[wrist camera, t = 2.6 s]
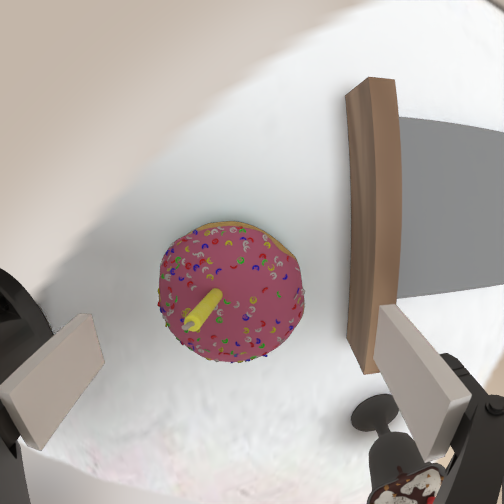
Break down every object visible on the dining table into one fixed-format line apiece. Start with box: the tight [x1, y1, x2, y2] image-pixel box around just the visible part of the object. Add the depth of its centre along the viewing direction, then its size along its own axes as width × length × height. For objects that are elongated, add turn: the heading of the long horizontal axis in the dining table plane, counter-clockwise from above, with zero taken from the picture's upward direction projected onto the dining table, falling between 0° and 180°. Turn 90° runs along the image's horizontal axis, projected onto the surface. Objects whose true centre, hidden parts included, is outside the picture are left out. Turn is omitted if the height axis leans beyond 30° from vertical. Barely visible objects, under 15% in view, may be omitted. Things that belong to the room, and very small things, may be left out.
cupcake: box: [158, 221, 305, 363], centre depth 17 cm, size 9×8×12 cm
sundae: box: [351, 394, 446, 504], centre depth 19 cm, size 7×7×15 cm
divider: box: [345, 77, 402, 375], centre depth 19 cm, size 2×18×5 cm, turn 3°
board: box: [397, 117, 504, 299], centre depth 20 cm, size 13×13×1 cm
